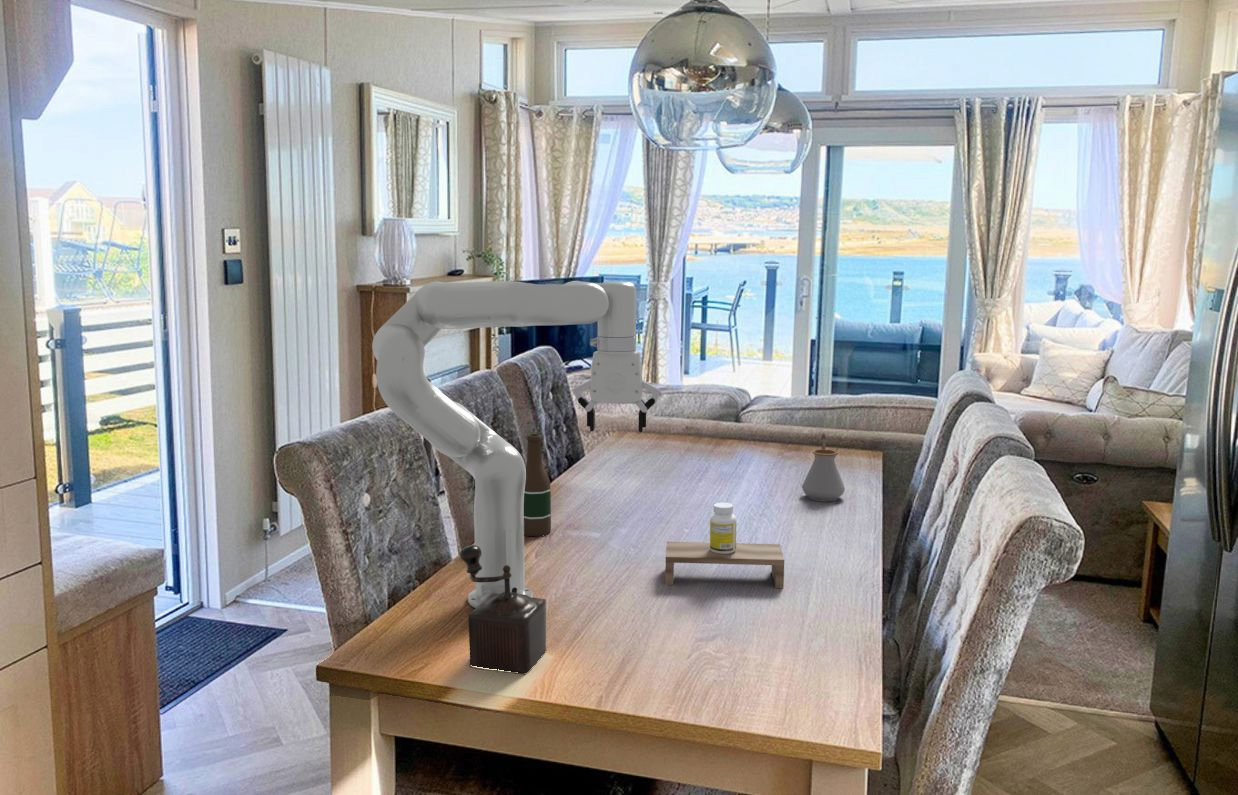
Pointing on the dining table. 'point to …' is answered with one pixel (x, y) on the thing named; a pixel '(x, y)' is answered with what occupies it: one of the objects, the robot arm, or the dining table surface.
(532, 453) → the beer bottle
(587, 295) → the robot arm
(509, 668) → the manual coffee grinder
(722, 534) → the supplement bottle
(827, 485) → the coffee pot
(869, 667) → the dining table surface
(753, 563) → the wooden shelf
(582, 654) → the dining table surface
